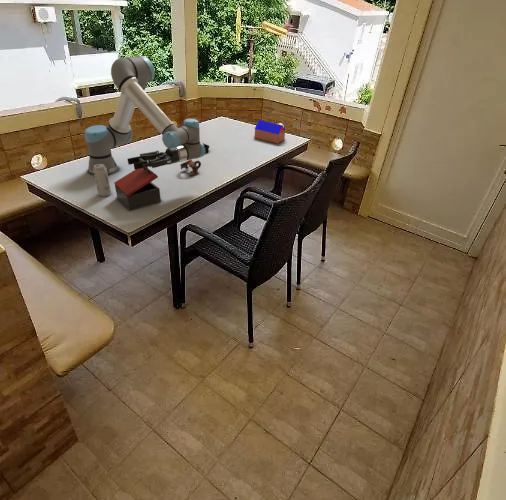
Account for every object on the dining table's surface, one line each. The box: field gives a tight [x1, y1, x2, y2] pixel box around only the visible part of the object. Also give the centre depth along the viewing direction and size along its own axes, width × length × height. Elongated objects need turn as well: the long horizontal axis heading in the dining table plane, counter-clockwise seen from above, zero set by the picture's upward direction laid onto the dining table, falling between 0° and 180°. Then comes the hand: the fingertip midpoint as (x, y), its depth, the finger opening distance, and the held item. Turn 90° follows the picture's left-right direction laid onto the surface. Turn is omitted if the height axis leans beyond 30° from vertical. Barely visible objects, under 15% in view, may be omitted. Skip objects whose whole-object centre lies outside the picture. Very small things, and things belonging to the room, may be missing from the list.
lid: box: [113, 158, 159, 196], centre depth 163 cm, size 17×15×8 cm
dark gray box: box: [114, 181, 162, 211], centre depth 170 cm, size 16×15×7 cm
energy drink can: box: [93, 164, 112, 197], centre depth 170 cm, size 6×6×15 cm
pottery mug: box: [180, 159, 202, 176], centre depth 201 cm, size 12×10×8 cm
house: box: [254, 119, 287, 144], centre depth 256 cm, size 12×20×12 cm, turn 58°
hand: (131, 164), depth 160 cm, fingers closed on lid, 6 cm apart
